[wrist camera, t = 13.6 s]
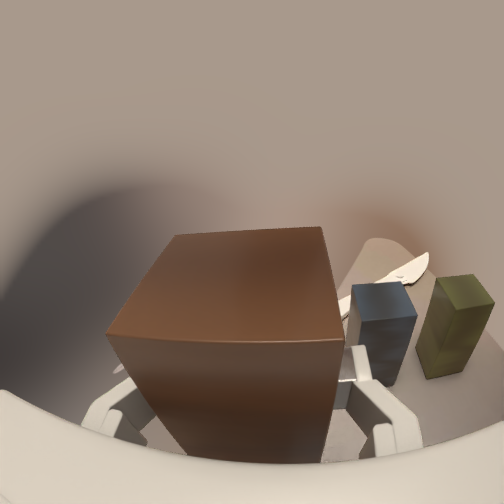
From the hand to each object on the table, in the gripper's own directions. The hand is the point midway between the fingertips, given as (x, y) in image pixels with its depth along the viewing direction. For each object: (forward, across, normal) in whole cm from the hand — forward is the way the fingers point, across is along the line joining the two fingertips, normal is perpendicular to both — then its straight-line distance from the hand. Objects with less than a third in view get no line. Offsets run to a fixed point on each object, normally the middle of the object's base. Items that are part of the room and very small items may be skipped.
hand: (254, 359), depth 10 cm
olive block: (+12, -18, +17) cm, 28 cm away
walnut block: (-1, 0, +6) cm, 6 cm away
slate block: (+12, -9, +17) cm, 23 cm away
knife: (+28, -16, +17) cm, 36 cm away
